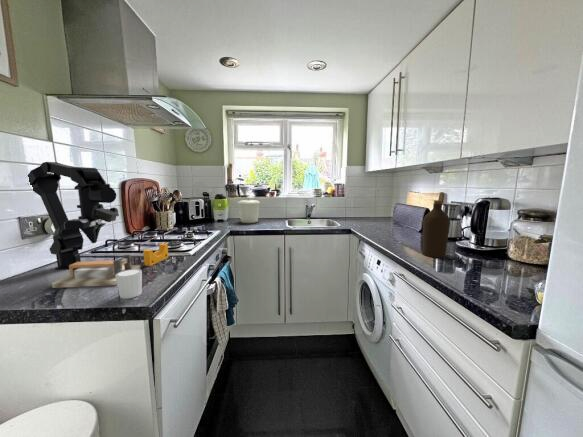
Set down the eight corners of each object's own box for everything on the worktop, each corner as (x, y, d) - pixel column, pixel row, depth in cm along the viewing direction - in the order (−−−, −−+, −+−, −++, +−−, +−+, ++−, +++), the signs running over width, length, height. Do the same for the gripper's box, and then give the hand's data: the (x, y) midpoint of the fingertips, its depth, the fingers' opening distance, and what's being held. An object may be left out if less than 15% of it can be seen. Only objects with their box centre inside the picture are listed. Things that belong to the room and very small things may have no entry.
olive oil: (441, 260, 110) (446, 202, 106) (416, 254, 118) (420, 200, 114) (450, 255, 117) (455, 200, 113) (426, 250, 125) (430, 199, 121)
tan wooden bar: (69, 275, 89) (67, 264, 88) (79, 270, 94) (78, 259, 93) (121, 273, 90) (120, 262, 90) (129, 268, 96) (127, 257, 95)
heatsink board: (52, 287, 84) (49, 267, 82) (85, 270, 99) (83, 253, 98) (117, 284, 86) (115, 264, 85) (140, 268, 101) (138, 251, 100)
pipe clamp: (159, 257, 117) (158, 243, 116) (168, 257, 116) (167, 243, 115) (140, 265, 105) (139, 250, 104) (150, 266, 104) (149, 251, 103)
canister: (236, 221, 213) (235, 196, 210) (258, 220, 219) (257, 195, 215) (239, 225, 196) (238, 197, 193) (262, 223, 202) (262, 196, 198)
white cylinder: (125, 290, 82) (123, 269, 81) (147, 289, 82) (145, 268, 81) (112, 300, 75) (109, 277, 74) (137, 299, 76) (134, 276, 74)
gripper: (95, 204, 86) (100, 249, 89) (126, 199, 105) (129, 237, 107) (60, 204, 86) (66, 249, 88) (97, 199, 104) (101, 237, 106)
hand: (94, 242), depth 97 cm, fingers closed
